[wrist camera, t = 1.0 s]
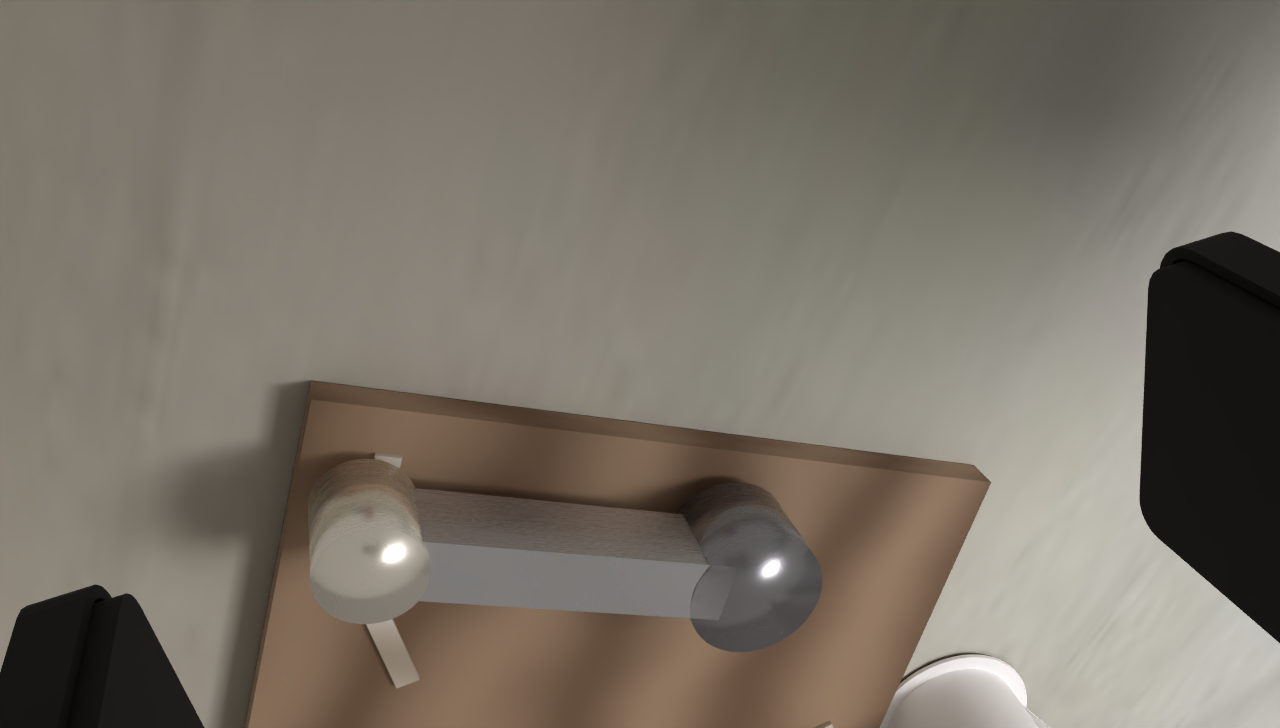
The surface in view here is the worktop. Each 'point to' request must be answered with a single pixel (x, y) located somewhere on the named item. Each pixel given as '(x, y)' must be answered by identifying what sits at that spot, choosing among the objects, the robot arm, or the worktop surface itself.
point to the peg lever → (560, 555)
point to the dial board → (606, 642)
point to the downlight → (962, 696)
